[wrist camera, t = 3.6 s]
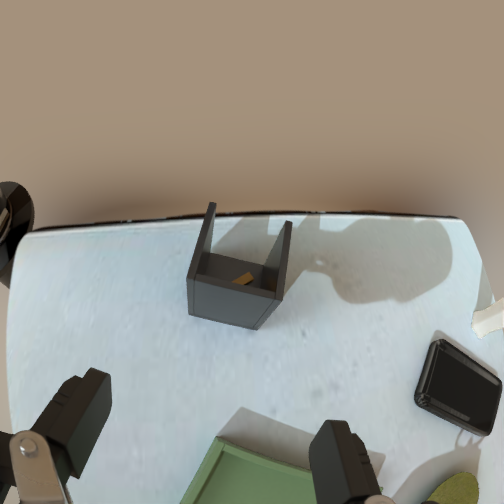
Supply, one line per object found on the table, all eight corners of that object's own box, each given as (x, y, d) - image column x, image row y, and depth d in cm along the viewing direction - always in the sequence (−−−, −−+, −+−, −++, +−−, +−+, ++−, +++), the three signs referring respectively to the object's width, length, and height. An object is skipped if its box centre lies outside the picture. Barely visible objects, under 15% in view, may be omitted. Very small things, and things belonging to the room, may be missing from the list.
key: (211, 311, 25) (211, 310, 24) (200, 294, 25) (200, 292, 25) (256, 284, 26) (257, 283, 26) (245, 269, 27) (246, 267, 27)
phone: (438, 335, 27) (503, 381, 25) (431, 338, 27) (497, 383, 26) (417, 402, 23) (489, 438, 21) (410, 403, 24) (483, 439, 22)
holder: (188, 314, 25) (186, 278, 18) (204, 254, 28) (209, 201, 21) (257, 330, 25) (282, 301, 18) (267, 269, 28) (292, 221, 21)
